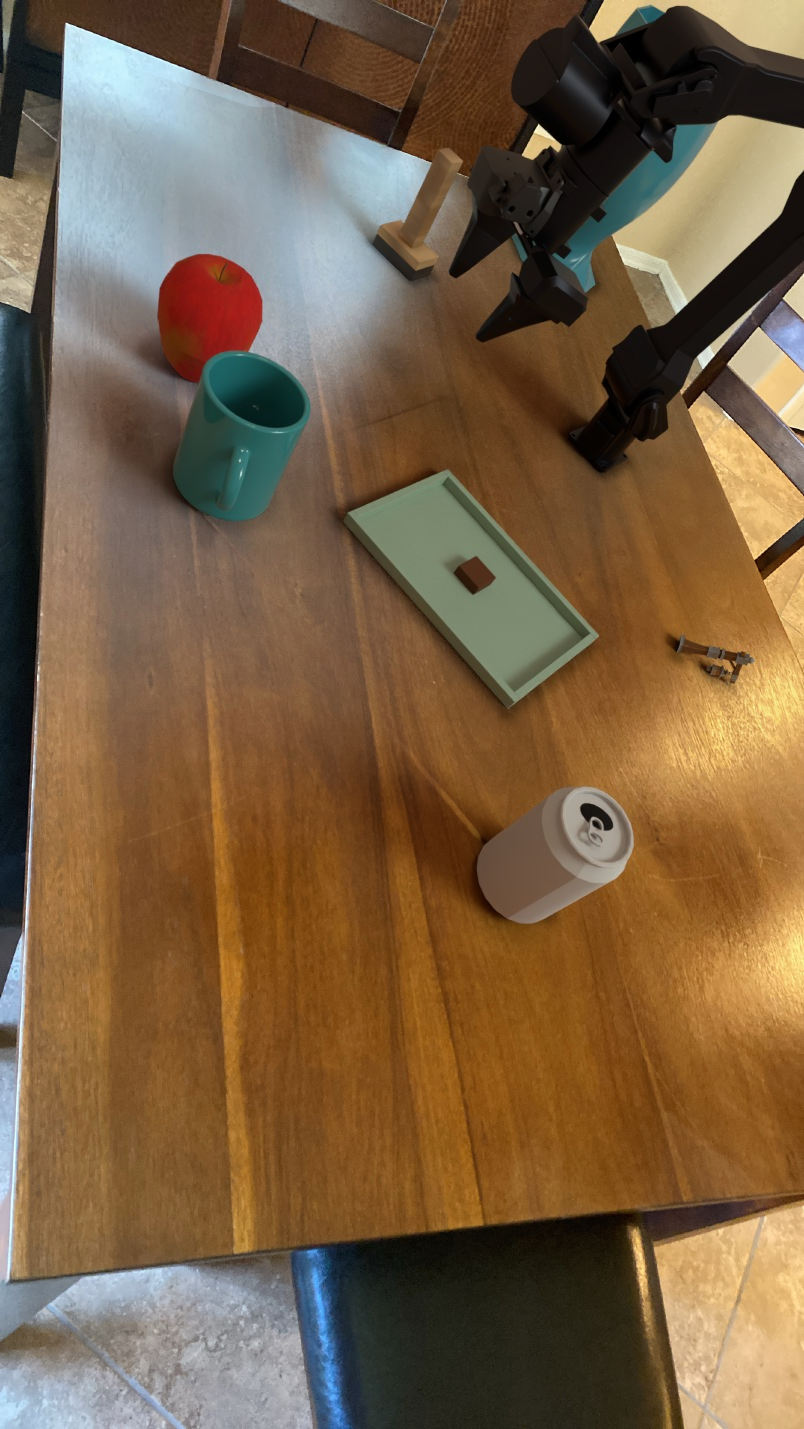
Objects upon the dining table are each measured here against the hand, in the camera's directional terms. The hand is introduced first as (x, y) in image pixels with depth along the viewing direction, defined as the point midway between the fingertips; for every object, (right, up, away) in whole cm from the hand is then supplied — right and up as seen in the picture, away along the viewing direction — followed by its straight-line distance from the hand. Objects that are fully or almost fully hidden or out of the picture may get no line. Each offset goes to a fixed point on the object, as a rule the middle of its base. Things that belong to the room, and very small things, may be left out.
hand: (464, 306), depth 84 cm
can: (+3, -53, -14) cm, 55 cm away
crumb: (+1, -26, +1) cm, 26 cm away
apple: (-27, -6, 0) cm, 27 cm away
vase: (+17, +29, +46) cm, 57 cm away
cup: (-23, -20, -7) cm, 31 cm away
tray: (+1, -27, +1) cm, 27 cm away
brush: (-6, +19, +27) cm, 33 cm away
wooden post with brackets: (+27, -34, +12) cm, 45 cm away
